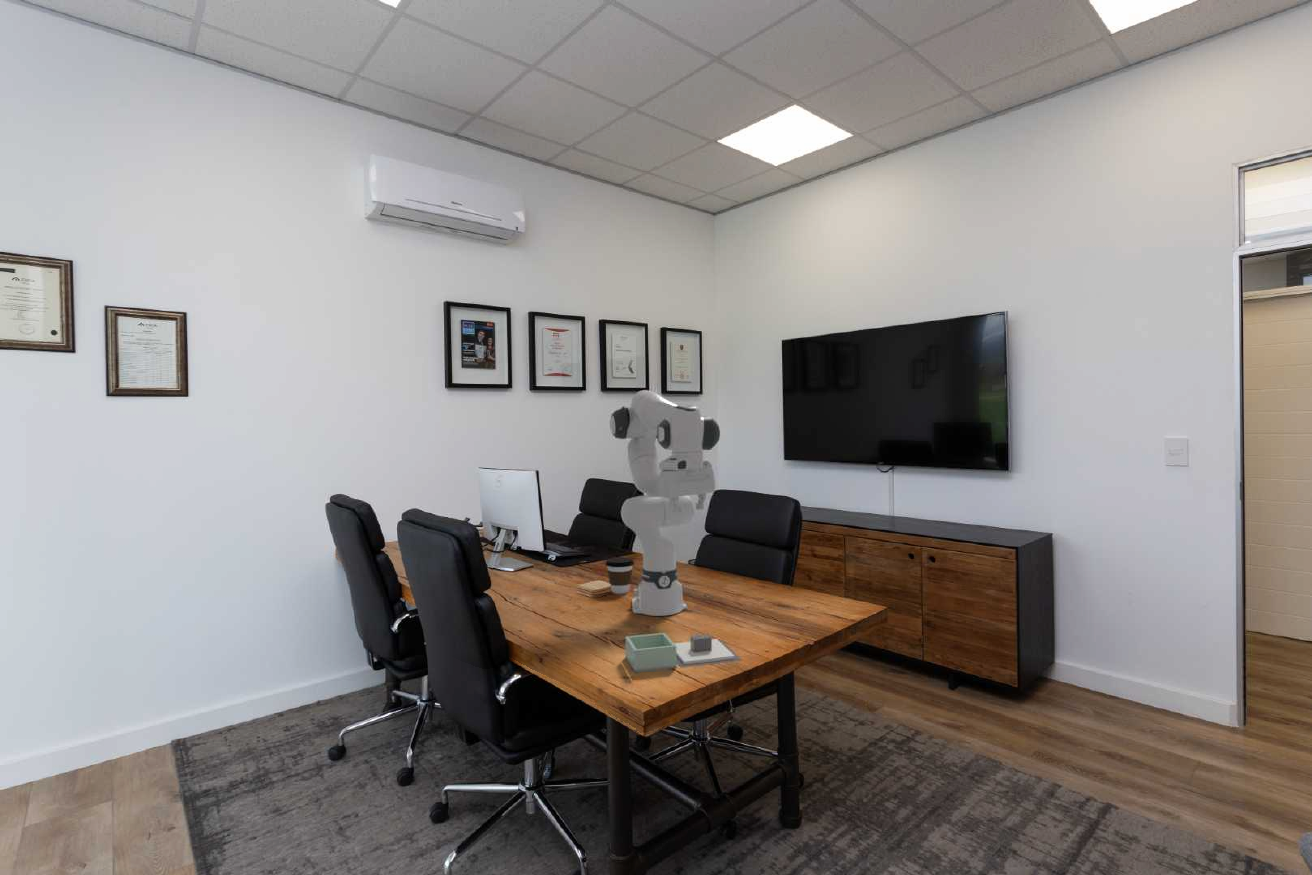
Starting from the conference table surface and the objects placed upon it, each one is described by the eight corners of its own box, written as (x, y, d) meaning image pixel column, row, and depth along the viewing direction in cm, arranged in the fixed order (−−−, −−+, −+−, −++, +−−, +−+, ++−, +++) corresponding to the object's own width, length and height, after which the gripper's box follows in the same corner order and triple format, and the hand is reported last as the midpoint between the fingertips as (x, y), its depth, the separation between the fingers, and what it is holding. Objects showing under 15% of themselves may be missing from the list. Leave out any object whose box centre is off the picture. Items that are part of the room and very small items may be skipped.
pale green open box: (625, 658, 174) (625, 636, 174) (665, 654, 177) (664, 632, 177) (634, 674, 164) (634, 650, 163) (676, 669, 166) (676, 646, 166)
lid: (669, 646, 182) (669, 631, 182) (716, 641, 186) (716, 626, 185) (684, 664, 168) (683, 648, 168) (734, 658, 172) (734, 642, 172)
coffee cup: (604, 588, 248) (603, 557, 248) (632, 587, 250) (632, 556, 250) (607, 596, 237) (606, 563, 237) (637, 594, 239) (636, 562, 239)
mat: (662, 646, 183) (662, 645, 183) (719, 640, 187) (719, 639, 187) (680, 668, 167) (680, 667, 167) (742, 661, 171) (742, 660, 171)
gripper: (703, 460, 193) (704, 506, 193) (654, 463, 179) (655, 514, 179) (719, 460, 189) (720, 508, 189) (671, 464, 174) (672, 515, 174)
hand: (688, 511), depth 183 cm, fingers open, 8 cm apart
